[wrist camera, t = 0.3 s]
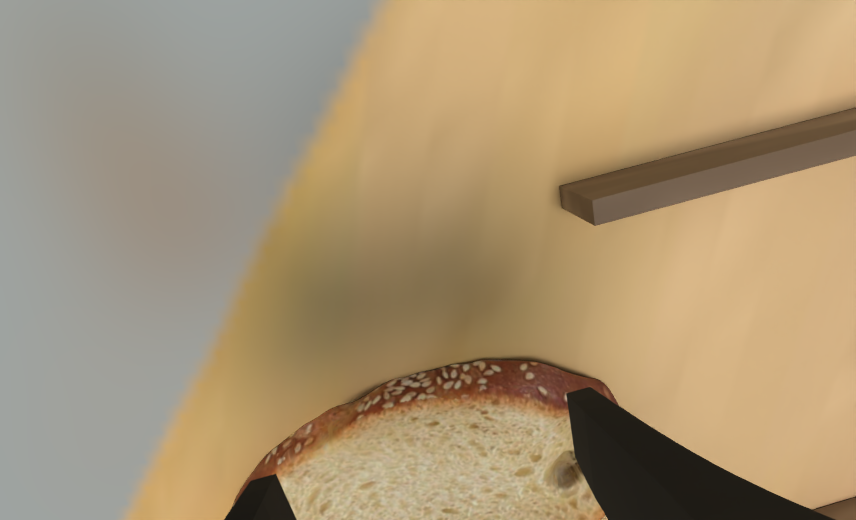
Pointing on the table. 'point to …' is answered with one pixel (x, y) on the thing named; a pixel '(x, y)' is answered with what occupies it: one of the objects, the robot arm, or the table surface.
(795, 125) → the frame
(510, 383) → the bread slice
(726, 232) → the table surface
